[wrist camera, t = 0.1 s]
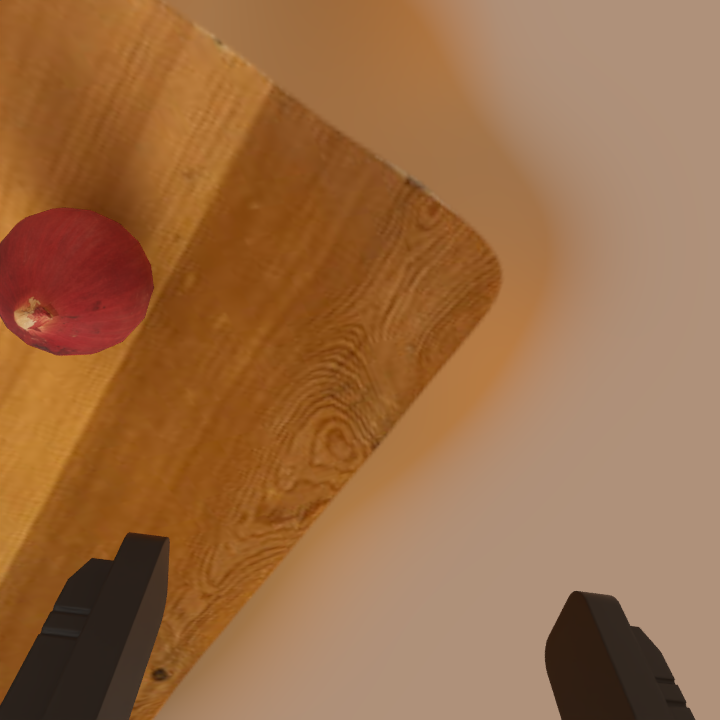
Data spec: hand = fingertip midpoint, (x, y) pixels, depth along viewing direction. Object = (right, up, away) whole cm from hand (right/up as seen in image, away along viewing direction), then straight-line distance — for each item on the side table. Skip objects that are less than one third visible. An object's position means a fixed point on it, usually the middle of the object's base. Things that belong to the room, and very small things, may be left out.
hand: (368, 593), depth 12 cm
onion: (-12, +10, +16) cm, 22 cm away
